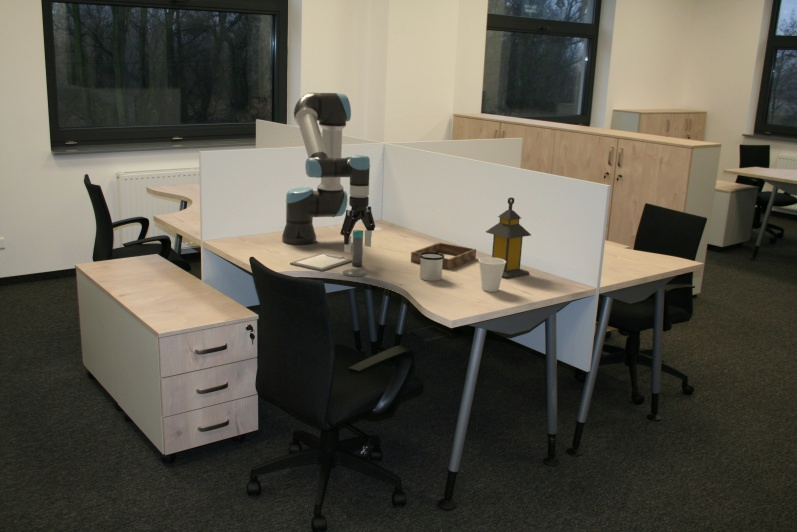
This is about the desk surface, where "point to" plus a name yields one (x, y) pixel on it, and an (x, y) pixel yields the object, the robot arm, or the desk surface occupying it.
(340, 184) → the robot arm
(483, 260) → the cup
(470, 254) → the wooden frame
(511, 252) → the lantern
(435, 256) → the mug
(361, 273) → the coaster
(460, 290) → the desk surface
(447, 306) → the desk surface
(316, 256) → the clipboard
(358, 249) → the marker
